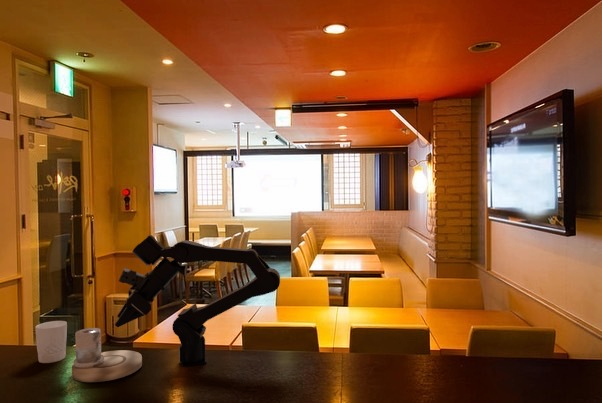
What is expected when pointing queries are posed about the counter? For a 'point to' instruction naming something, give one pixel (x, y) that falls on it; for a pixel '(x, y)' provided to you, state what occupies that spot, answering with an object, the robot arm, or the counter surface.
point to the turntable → (110, 367)
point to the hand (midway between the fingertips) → (117, 321)
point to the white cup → (51, 341)
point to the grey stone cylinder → (88, 348)
